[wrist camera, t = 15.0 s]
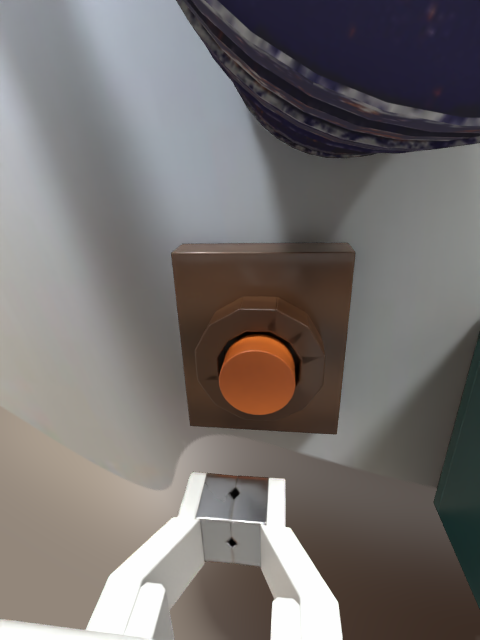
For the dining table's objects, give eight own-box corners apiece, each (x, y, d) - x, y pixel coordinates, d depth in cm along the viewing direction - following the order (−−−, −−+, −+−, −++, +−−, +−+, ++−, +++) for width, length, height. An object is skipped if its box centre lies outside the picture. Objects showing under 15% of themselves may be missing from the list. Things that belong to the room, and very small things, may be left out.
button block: (332, 411, 23) (341, 458, 19) (197, 404, 24) (182, 447, 20) (348, 242, 19) (363, 261, 15) (182, 243, 20) (158, 261, 16)
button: (293, 395, 19) (294, 417, 17) (226, 392, 19) (220, 413, 17) (295, 334, 17) (296, 351, 16) (222, 332, 18) (216, 349, 16)
